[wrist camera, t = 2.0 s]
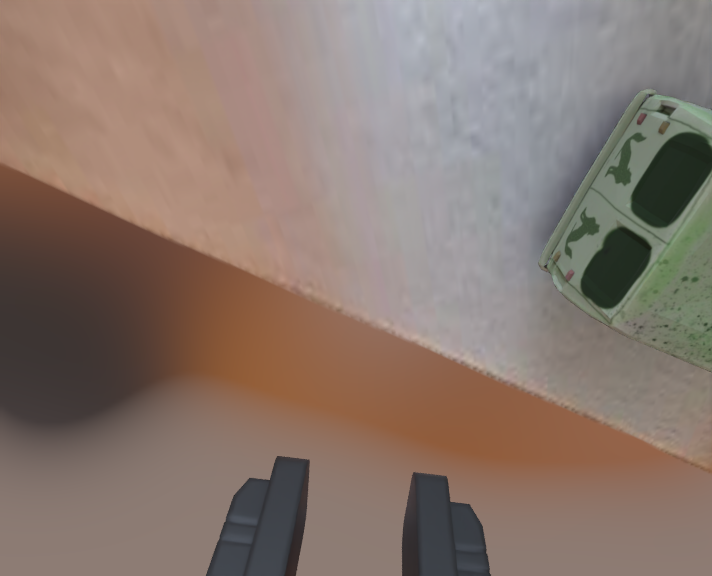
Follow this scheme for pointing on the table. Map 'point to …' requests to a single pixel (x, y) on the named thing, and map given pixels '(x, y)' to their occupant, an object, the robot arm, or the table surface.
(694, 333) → the toy car
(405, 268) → the table surface
